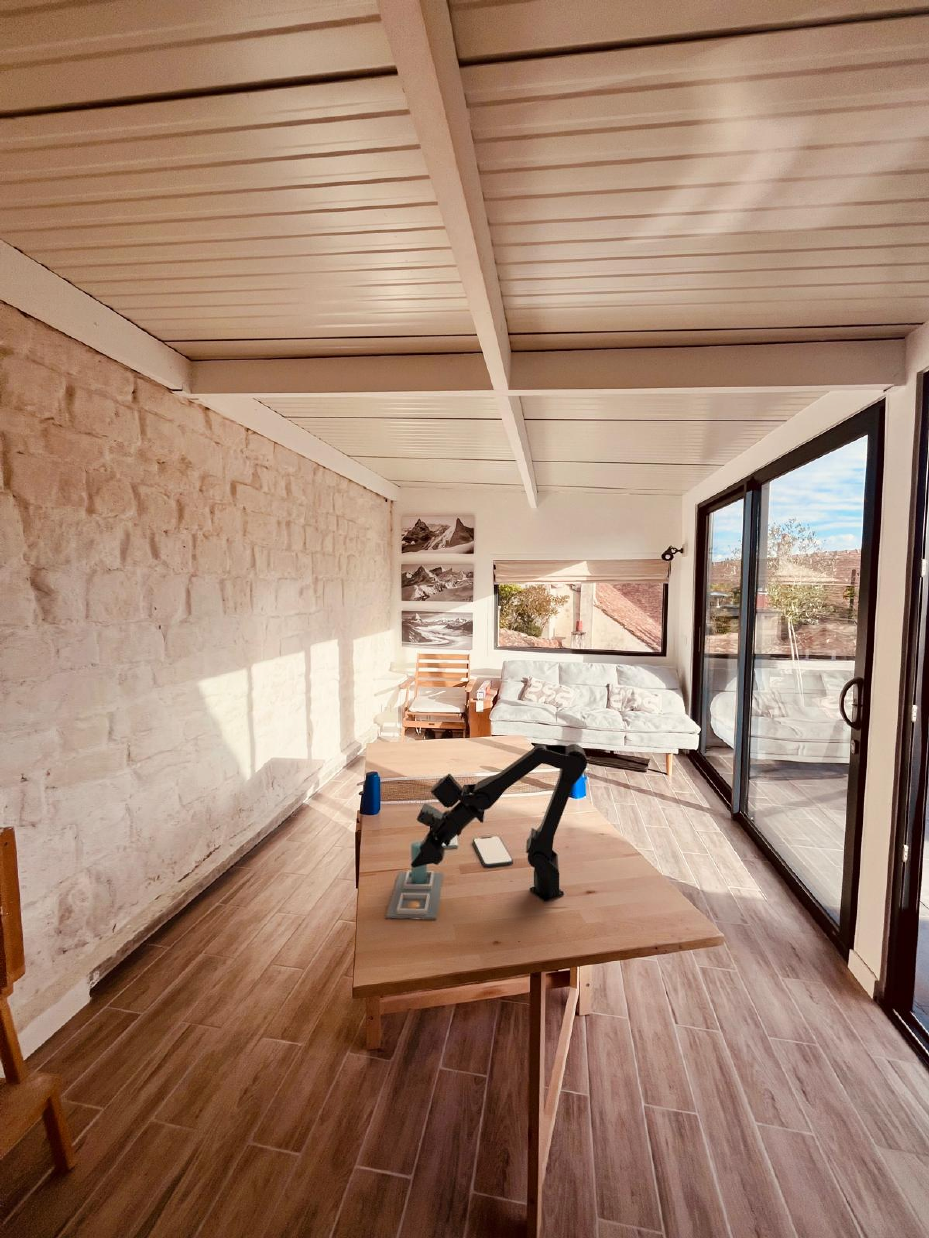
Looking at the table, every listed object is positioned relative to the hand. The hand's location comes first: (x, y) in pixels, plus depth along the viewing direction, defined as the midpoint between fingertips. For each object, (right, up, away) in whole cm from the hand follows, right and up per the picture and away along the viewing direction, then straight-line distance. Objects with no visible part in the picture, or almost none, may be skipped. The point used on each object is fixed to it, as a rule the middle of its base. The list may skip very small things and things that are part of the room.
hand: (416, 857), depth 148 cm
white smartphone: (+21, -7, +17) cm, 28 cm away
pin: (+1, -7, 0) cm, 7 cm away
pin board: (+1, -8, -5) cm, 9 cm away
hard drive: (+6, -6, +26) cm, 27 cm away
